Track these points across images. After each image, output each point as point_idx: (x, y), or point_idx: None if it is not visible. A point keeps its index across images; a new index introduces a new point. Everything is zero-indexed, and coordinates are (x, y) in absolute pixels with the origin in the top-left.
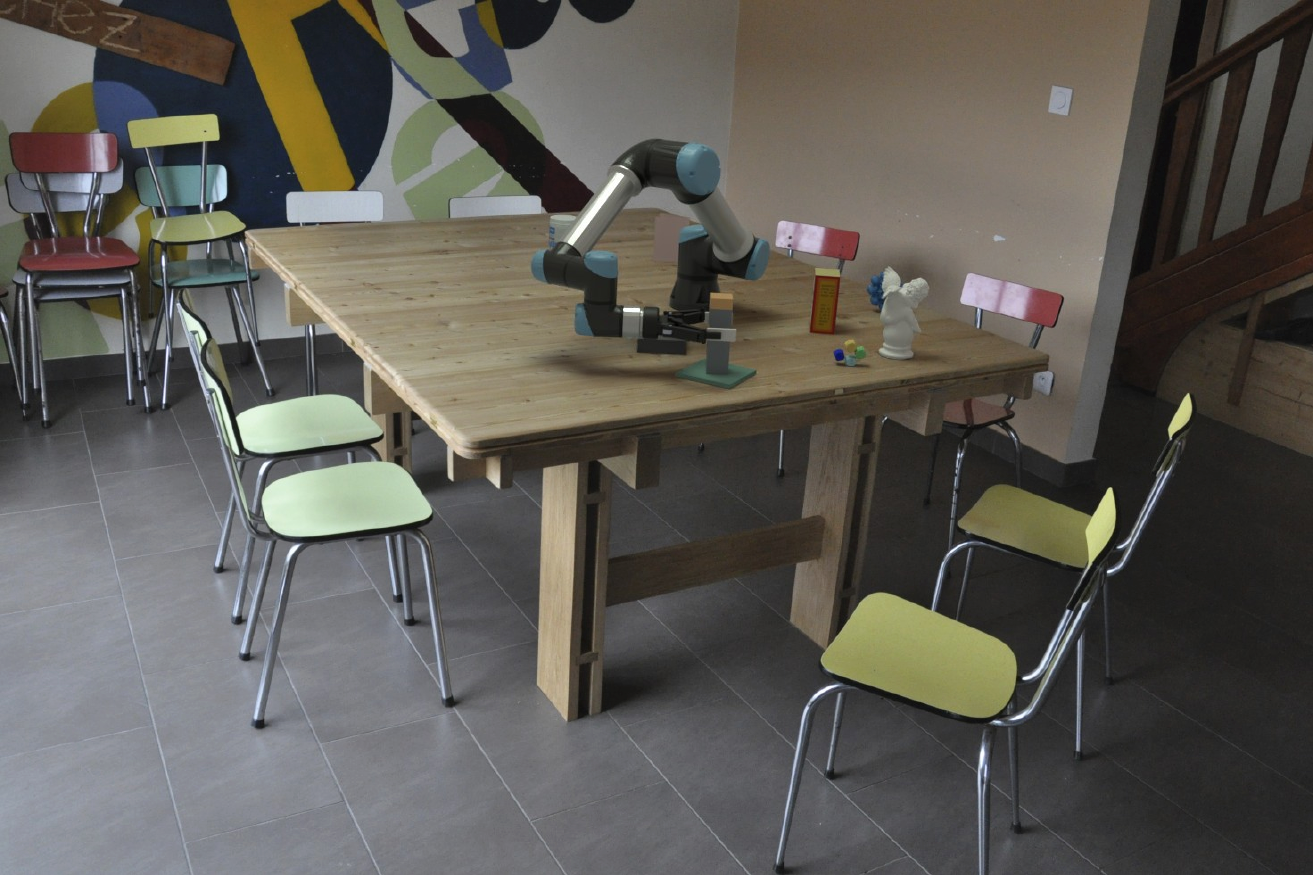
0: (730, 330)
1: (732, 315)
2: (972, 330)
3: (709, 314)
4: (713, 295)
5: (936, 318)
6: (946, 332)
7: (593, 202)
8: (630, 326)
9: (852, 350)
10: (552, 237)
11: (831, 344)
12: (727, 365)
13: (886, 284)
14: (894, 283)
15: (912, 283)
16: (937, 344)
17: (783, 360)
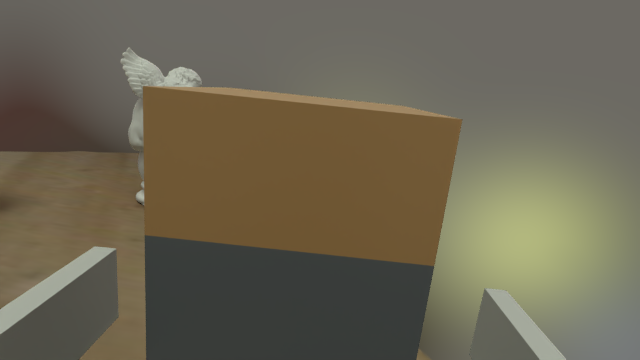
0: (523, 316)
1: (115, 258)
2: (98, 153)
3: (263, 351)
4: (300, 101)
5: (23, 153)
6: (91, 161)
7: None
8: None
9: None
10: None
11: (52, 231)
12: None
13: (147, 80)
14: (160, 77)
15: (186, 75)
16: (136, 173)
17: (122, 318)
